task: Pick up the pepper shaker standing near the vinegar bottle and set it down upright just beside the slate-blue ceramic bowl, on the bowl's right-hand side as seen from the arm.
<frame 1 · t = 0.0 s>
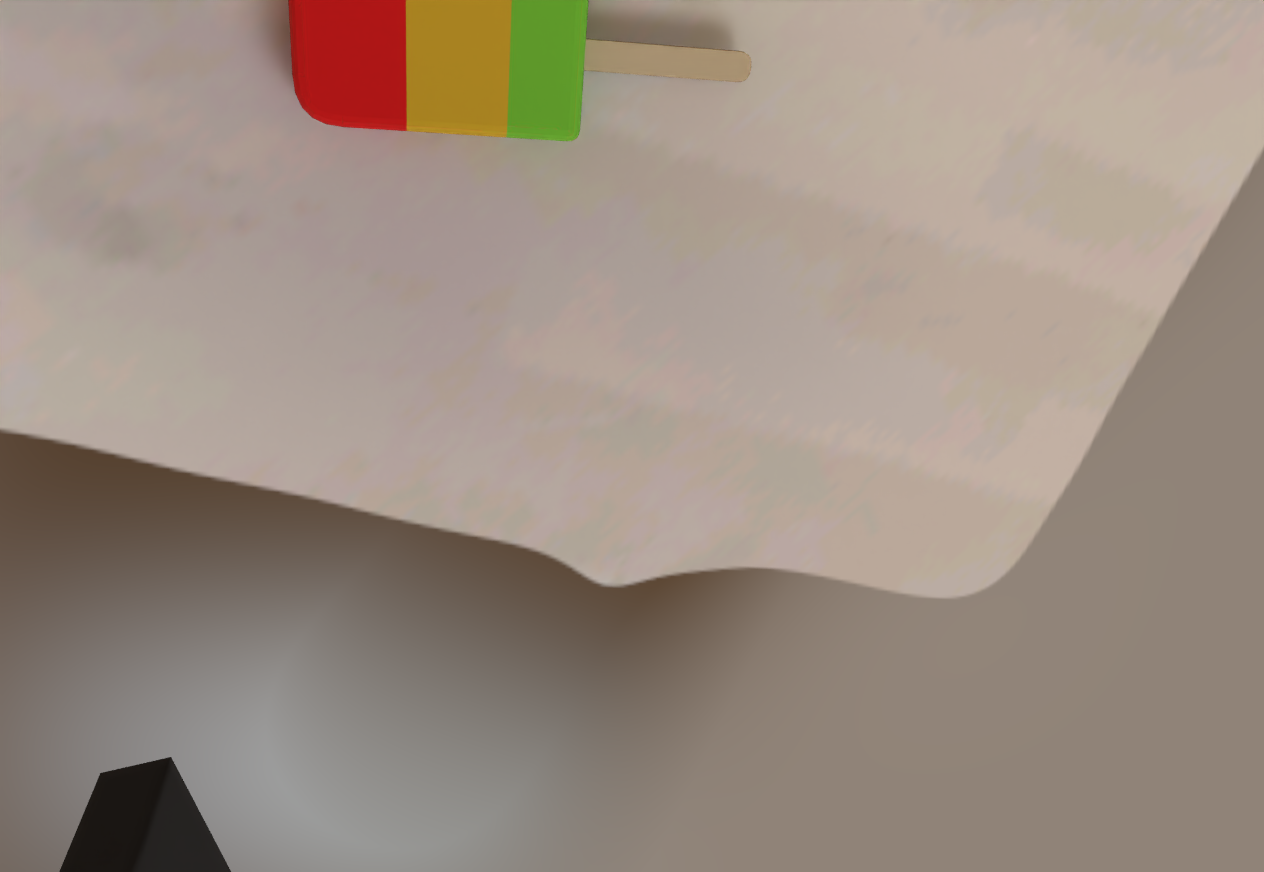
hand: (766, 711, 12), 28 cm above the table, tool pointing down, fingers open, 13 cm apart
popsicle: (527, 46, 35), on the table
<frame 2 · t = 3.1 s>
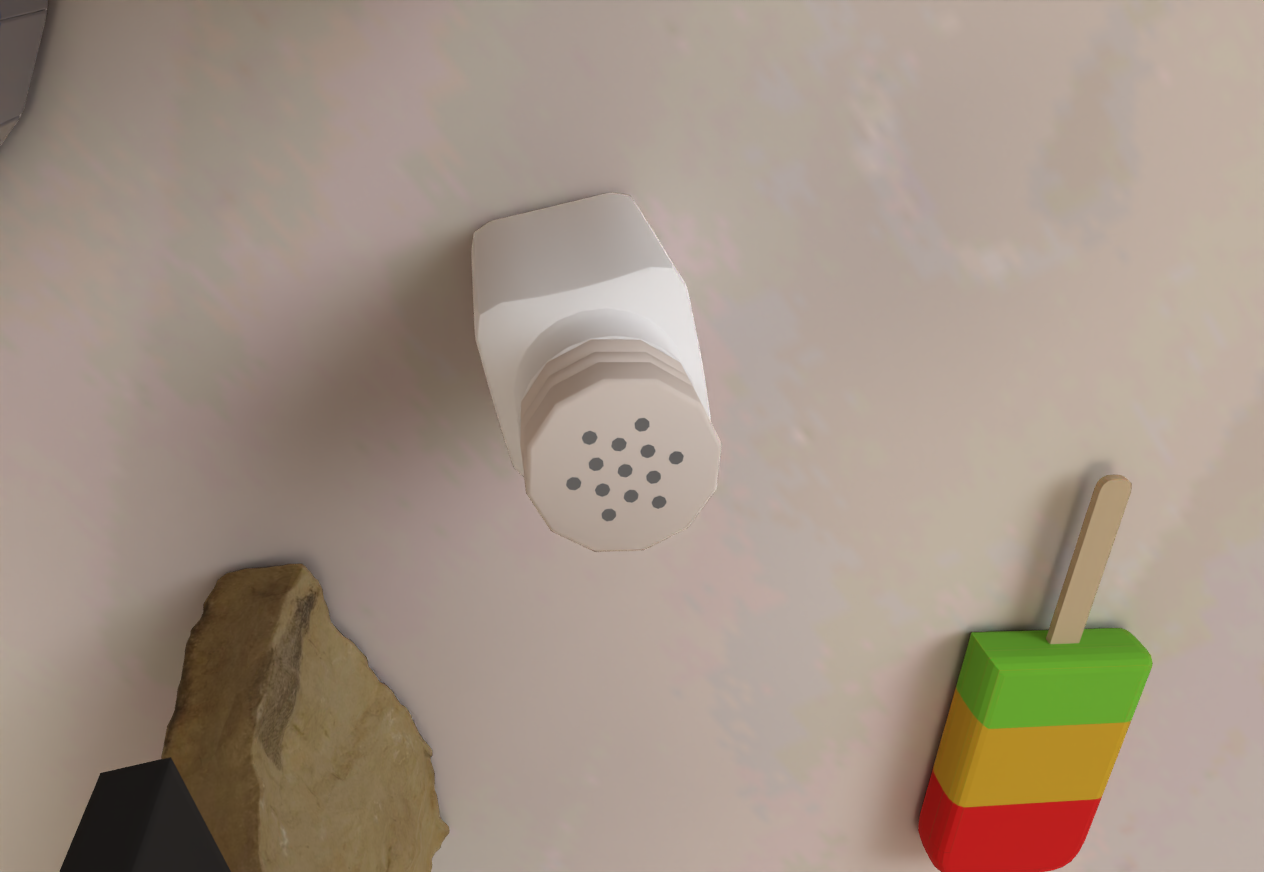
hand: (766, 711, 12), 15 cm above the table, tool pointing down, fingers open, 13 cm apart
pepper shaker: (566, 278, 25), on the table
rock: (337, 703, 30), on the table
popsicle: (1030, 665, 33), on the table
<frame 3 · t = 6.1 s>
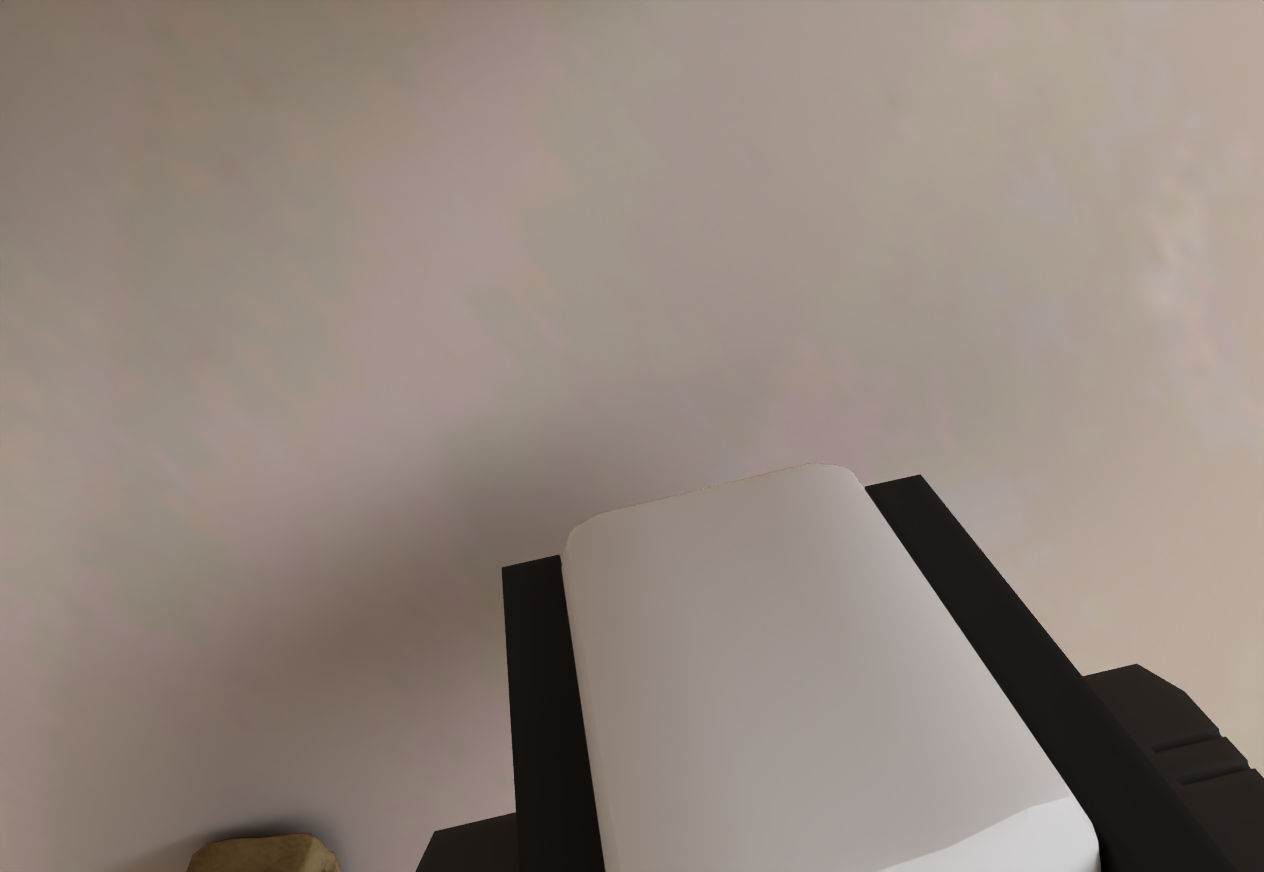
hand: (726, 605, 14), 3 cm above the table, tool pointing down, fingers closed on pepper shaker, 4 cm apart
pepper shaker: (718, 584, 14), point 3 cm above the table, touching gripper
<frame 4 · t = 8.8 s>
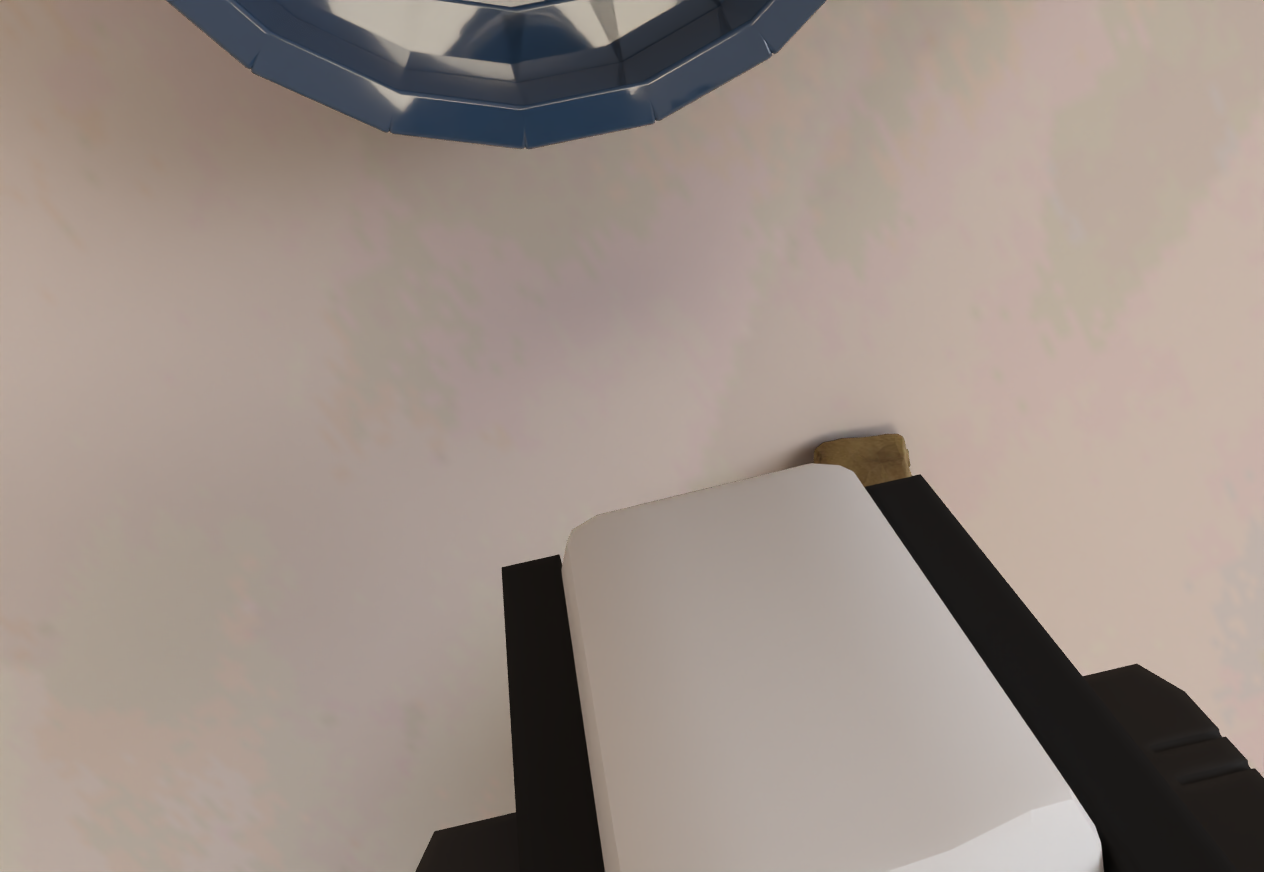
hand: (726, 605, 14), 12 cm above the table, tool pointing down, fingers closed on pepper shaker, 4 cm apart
pepper shaker: (718, 585, 14), point 11 cm above the table, touching gripper
rock: (872, 587, 29), on the table
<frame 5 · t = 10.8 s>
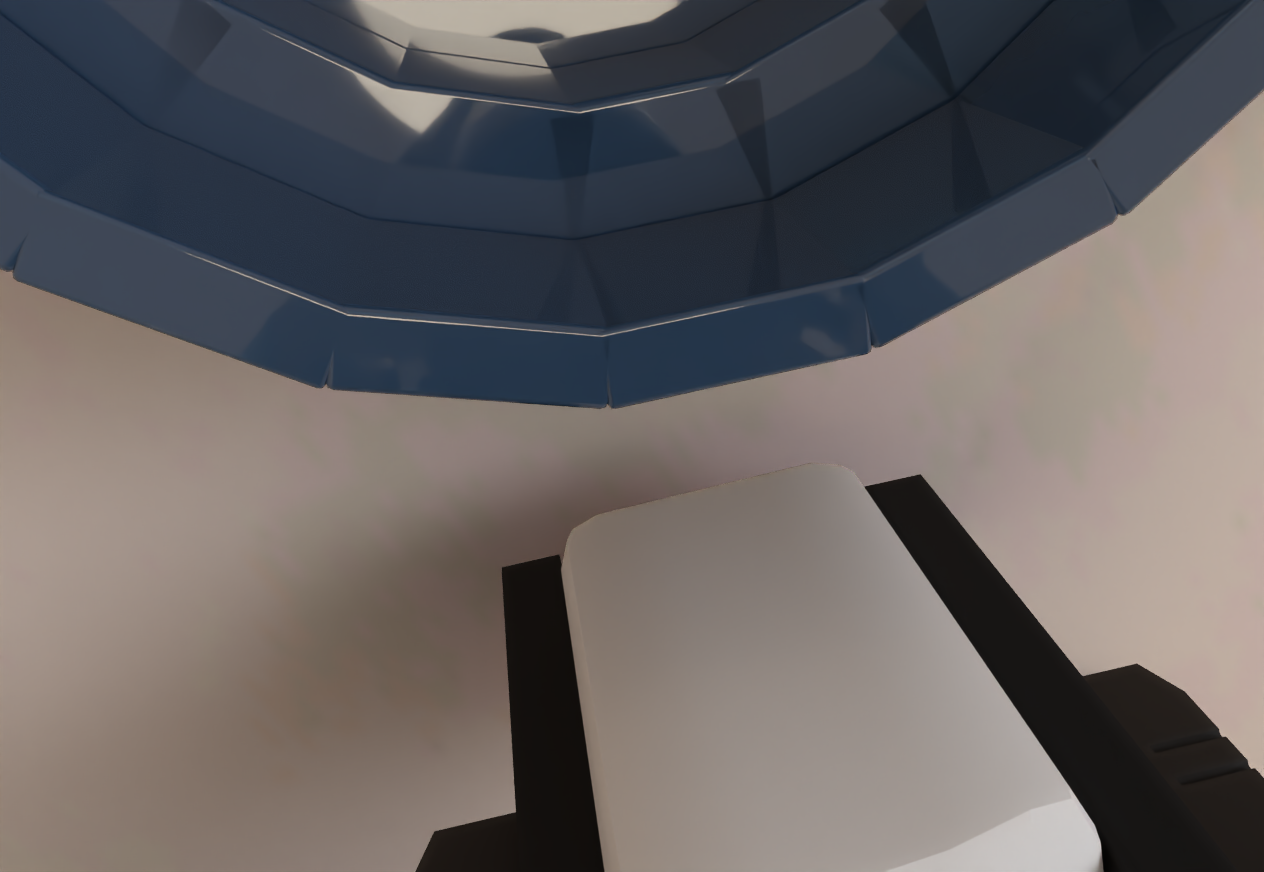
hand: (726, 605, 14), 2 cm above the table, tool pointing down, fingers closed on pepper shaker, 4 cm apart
pepper shaker: (718, 584, 14), point 1 cm above the table, touching gripper
when the fingers open (0 cm above the table, at t = 11.6 s): pepper shaker stays where it is, on the table.
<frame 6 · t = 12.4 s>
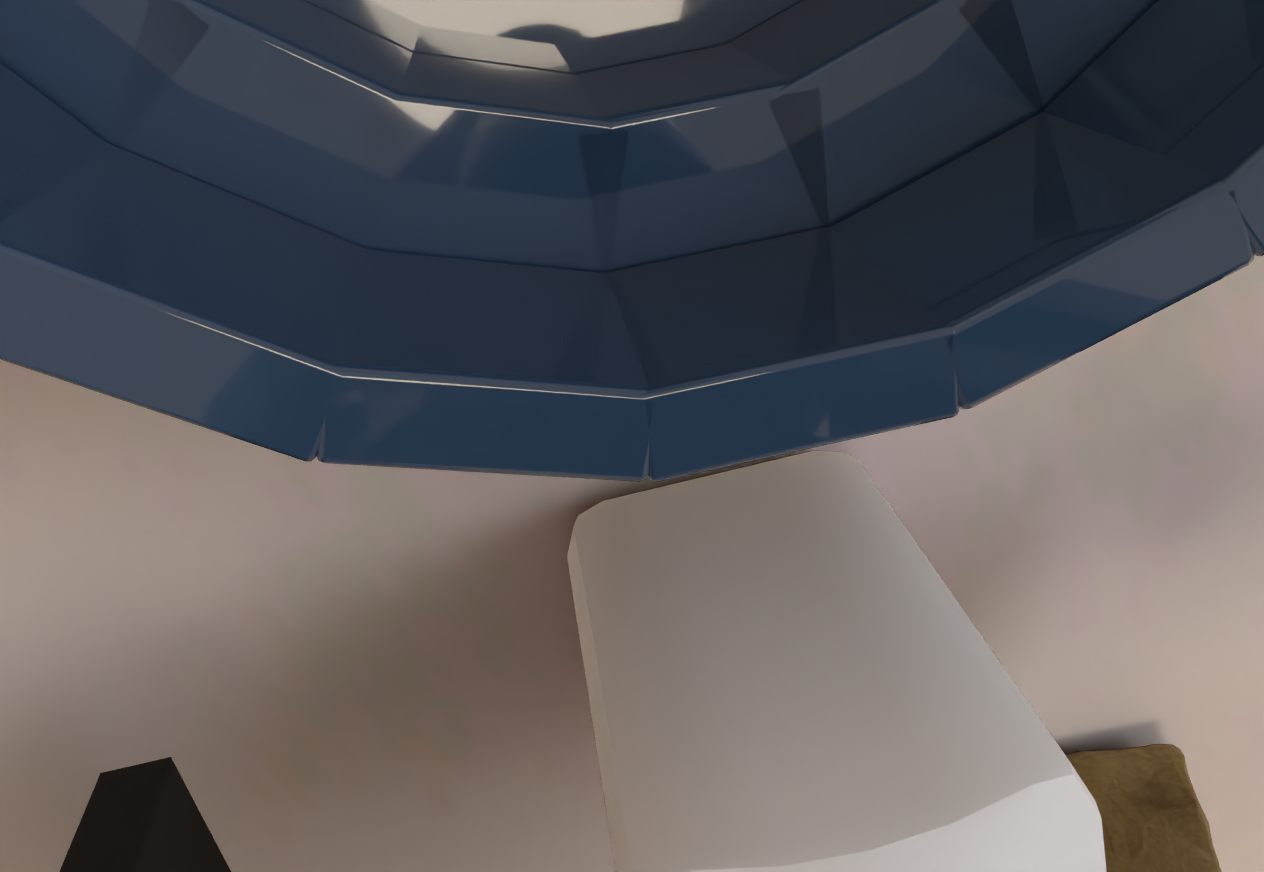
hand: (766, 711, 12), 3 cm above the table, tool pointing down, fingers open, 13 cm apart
pepper shaker: (722, 571, 14), on the table
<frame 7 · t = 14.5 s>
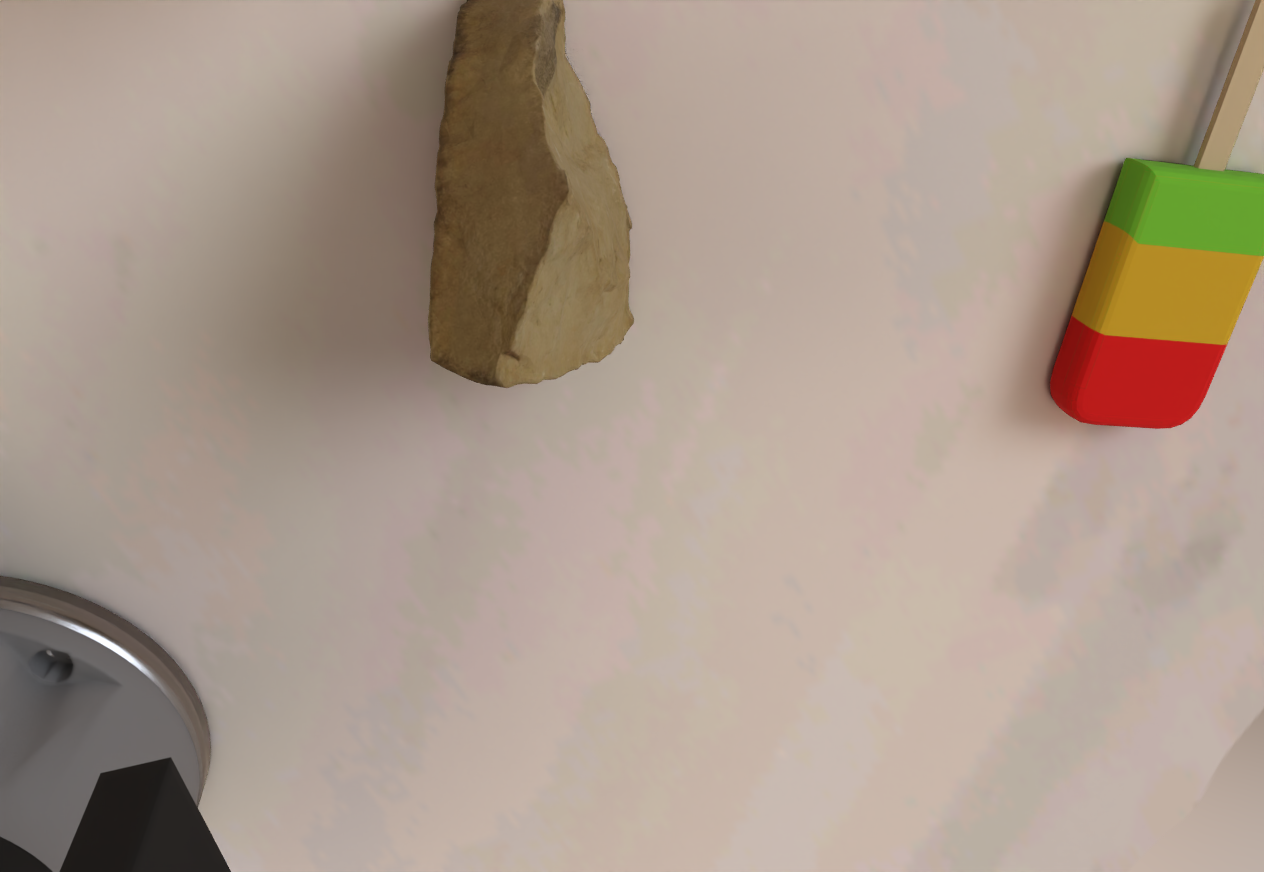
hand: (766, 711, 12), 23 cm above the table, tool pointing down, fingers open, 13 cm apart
rock: (552, 161, 32), on the table
popsicle: (1170, 213, 36), on the table
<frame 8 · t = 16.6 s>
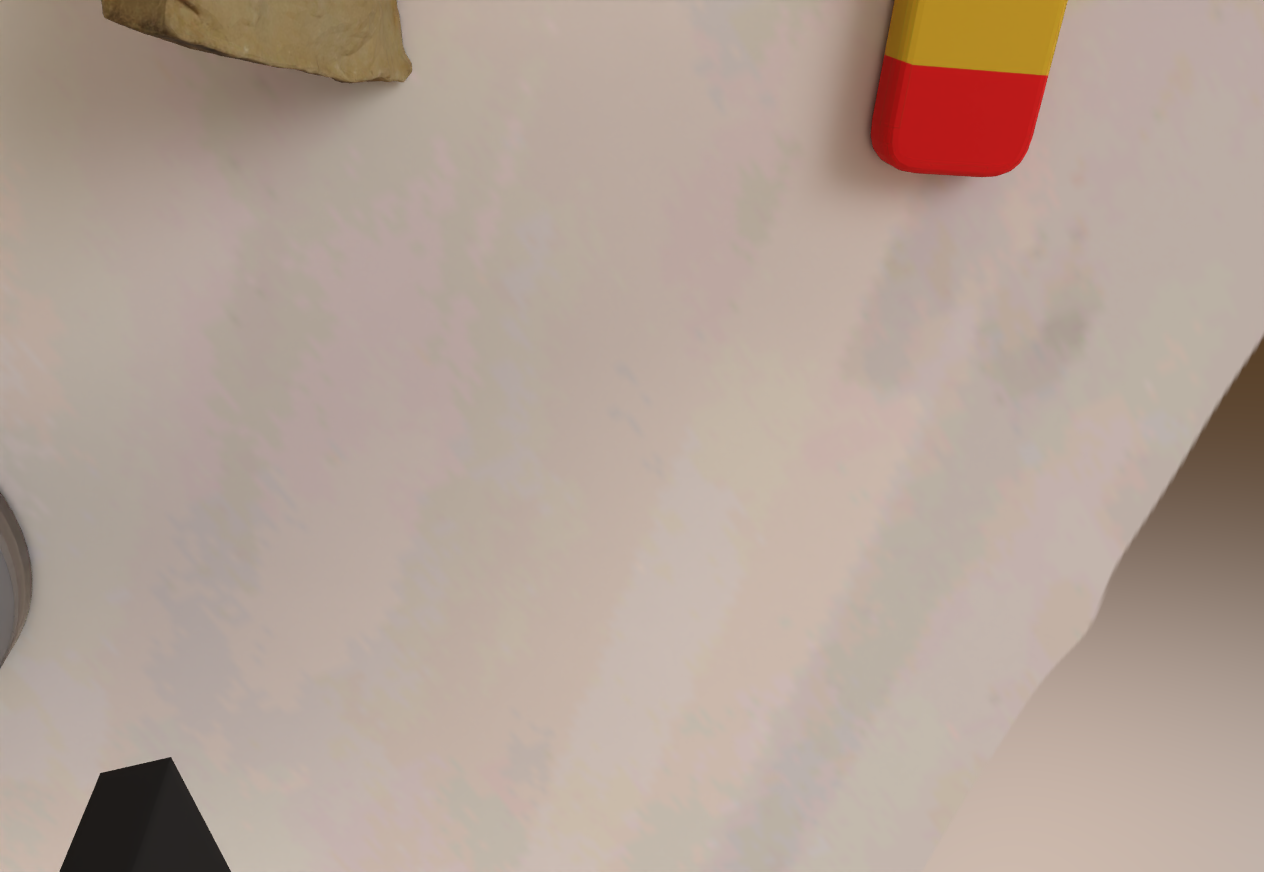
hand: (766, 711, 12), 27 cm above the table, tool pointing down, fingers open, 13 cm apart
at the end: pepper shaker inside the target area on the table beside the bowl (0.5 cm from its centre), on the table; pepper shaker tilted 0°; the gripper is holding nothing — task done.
